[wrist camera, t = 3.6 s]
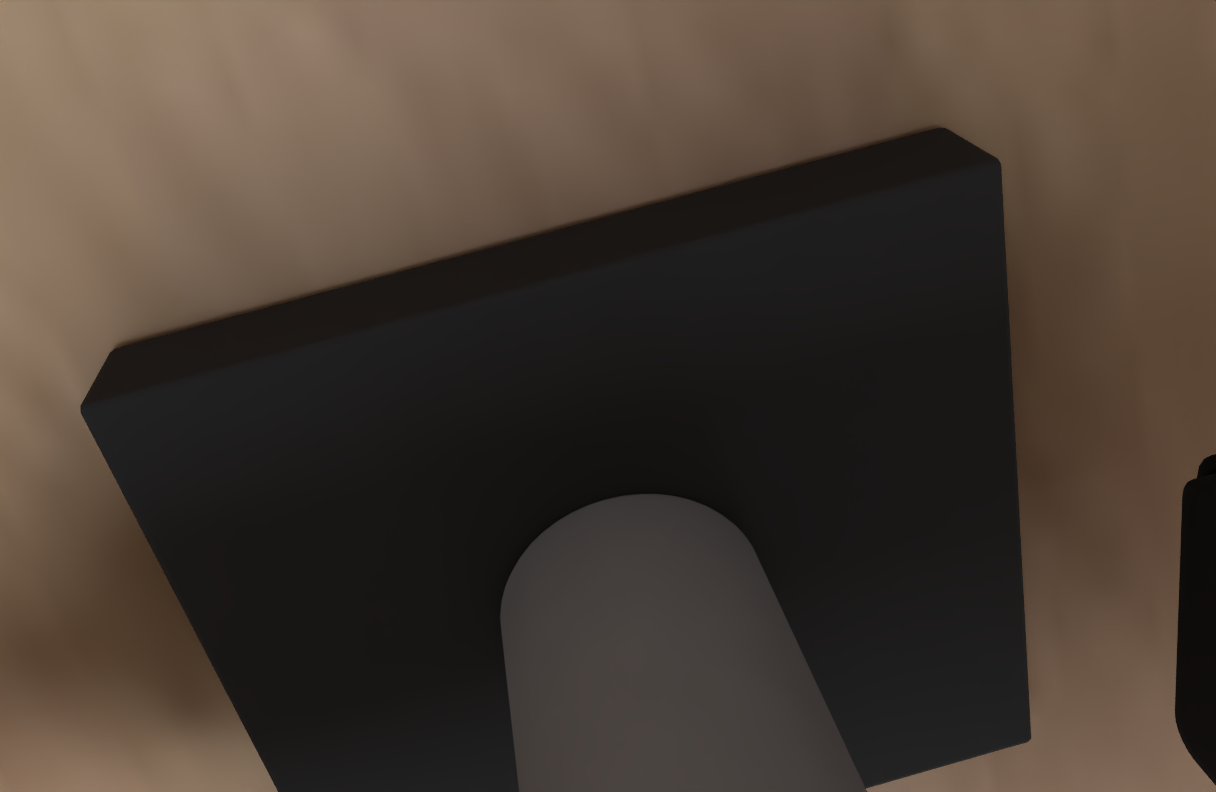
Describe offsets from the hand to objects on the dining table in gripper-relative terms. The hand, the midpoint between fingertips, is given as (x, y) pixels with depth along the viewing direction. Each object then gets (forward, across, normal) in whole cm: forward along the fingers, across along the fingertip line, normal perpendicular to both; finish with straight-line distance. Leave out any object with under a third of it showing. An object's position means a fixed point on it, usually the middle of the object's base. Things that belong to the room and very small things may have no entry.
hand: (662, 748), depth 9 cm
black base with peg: (+3, 0, +2) cm, 4 cm away
